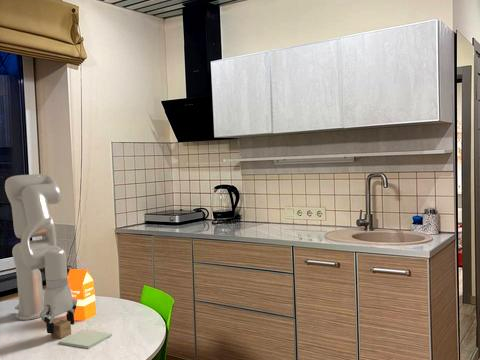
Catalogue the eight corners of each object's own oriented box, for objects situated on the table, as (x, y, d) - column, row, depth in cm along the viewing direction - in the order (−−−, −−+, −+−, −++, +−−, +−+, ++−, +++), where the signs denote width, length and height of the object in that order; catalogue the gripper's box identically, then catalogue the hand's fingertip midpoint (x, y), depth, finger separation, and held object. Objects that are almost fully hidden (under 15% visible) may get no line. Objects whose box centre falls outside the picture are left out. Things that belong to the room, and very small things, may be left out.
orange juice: (85, 320, 196) (81, 271, 195) (66, 319, 199) (63, 271, 198) (96, 314, 204) (93, 267, 203) (79, 313, 207) (75, 266, 205)
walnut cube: (51, 337, 180) (50, 324, 179) (61, 332, 184) (60, 319, 184) (61, 339, 178) (60, 325, 177) (71, 334, 182) (70, 321, 182)
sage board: (58, 343, 173) (58, 341, 173) (83, 331, 184) (82, 329, 184) (88, 348, 167) (88, 346, 167) (112, 335, 178) (112, 333, 178)
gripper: (67, 276, 189) (70, 320, 190) (30, 288, 173) (34, 335, 174) (81, 277, 186) (85, 321, 187) (46, 290, 170) (50, 338, 171)
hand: (61, 328), depth 180 cm, fingers open, 9 cm apart
